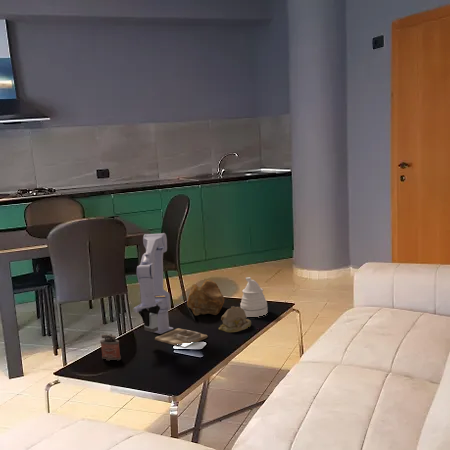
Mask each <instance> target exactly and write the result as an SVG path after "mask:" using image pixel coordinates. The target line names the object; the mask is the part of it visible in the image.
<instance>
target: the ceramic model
mask: <svg viewBox="0 0 450 450" xmlns="http://www.w3.org/2000/svg"><path fill="white" fill-rule="evenodd" d="M220 320H221V321H222V324H220V325H219V327H218V330H219V331H223V332H225V333H237V332H241V331H244V330H246V329H249V328H250V327H251V325H252V320H250V319H249V318H247V317H246V314H245V311H244V310H243V309H241V306H234V305H232V306H230V308H228V309H227V310H226V311H225V312H224V314H223V315H222V316H221V317H220ZM248 327H249V328H248Z"/></svg>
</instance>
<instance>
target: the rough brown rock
mask: <svg viewBox="0 0 450 450" xmlns="http://www.w3.org/2000/svg"><path fill="white" fill-rule="evenodd" d="M186 302H187V303H186V305H187V307H188V309H191V311H192V313H193V315H194V316H196V317H197V316H199V315H207V314H210V315H214V316H217V315H218V314H219V313H220V311H221V310H222V308H223V305H224V304H225V297H224V295H223V294H222V292H221V290H220V288H219V286H218V284H217V283H216V282H215V281H213V280H211V279H206V280H204V281H203V283H202V285H201V286H198V285H197V284H195V283H193V284H192V285H191V287H190V291H189V295H188V297H187V301H186Z"/></svg>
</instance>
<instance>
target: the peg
mask: <svg viewBox="0 0 450 450" xmlns="http://www.w3.org/2000/svg"><path fill="white" fill-rule="evenodd" d="M149 323H150V324H149V326H145V324H144V323H143V326H144V331H146V332H150V333H155V331H158V323H157V314H154V313H150V315H149Z"/></svg>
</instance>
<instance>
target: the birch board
mask: <svg viewBox="0 0 450 450" xmlns="http://www.w3.org/2000/svg"><path fill="white" fill-rule="evenodd" d="M207 338H208V335H207V334H204V333H201V332H198V331H194V330H189V329H184V328H179V327H178V328H175V329H172V330H169V331H167V332H164V333H162V334H160V335H157V336H155V337H154V341H158V342H160V343H161V342H162V343H165V344H169V345H174V346H176V345H177V344H182V343H191V342H196V343H198V342H201V341H203V340H205V339H207Z"/></svg>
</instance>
